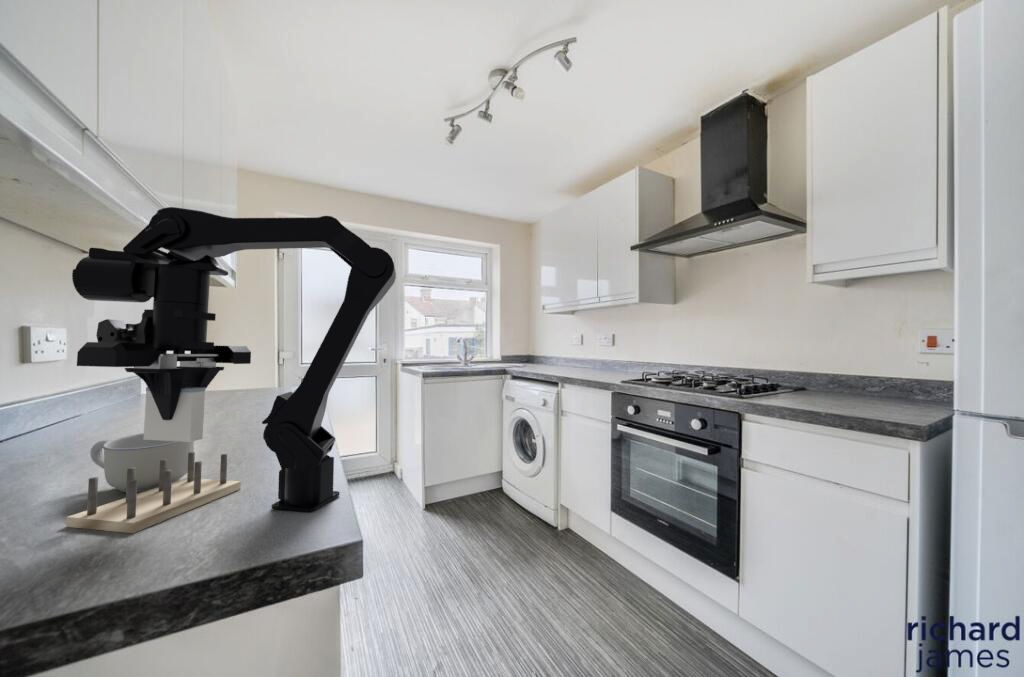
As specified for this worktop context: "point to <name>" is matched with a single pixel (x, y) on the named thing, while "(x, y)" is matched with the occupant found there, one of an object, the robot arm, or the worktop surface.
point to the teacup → (140, 460)
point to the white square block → (176, 417)
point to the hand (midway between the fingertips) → (175, 418)
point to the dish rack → (153, 499)
